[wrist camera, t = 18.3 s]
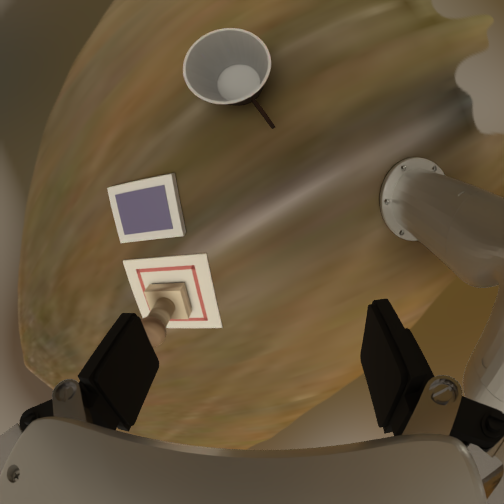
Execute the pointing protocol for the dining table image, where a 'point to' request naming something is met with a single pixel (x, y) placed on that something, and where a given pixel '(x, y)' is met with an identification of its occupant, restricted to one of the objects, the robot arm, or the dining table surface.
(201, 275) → the paper sheet
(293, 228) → the dining table surface
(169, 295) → the stamp
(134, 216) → the ink pad
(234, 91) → the coffee mug
